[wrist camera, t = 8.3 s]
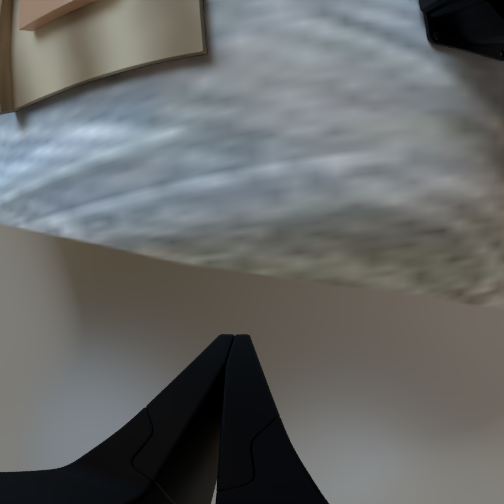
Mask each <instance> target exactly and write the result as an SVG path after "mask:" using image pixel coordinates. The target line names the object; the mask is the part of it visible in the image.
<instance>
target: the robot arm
mask: <svg viewBox="0 0 504 504" xmlns="http://www.w3.org/2000/svg"><path fill="white" fill-rule="evenodd" d="M419 4H420V9H421V11H422V12H423V13H424V19H425V25H426V32H427V37H428V40H429V41H430V42H431V43H433V44H436V45H441V46H446V47H450V48H455V49H459V50H463V51H467V52H471V53H475V54H479V55H482V56H486V57H489V58H493V59H496V60H499V61H504V0H419ZM433 33H434V34H436V36H437V40H436V39H435V38H434V37H433ZM500 51H501V53H502V56H501V54H500ZM146 407H147V408H143V409H142V410H141V411H140V412H139V413H138V414H137V415H136V416H135V417H134V418H132V419H131V420H130V421H129V422H128V423H127V424H126V425H124V426H123V427H122V428H121V429H120V430H118V431H117V432H115V433H114V434H113V435H112V436H110V437H109V438H108V439H106V440H105V441H103V442H102V443H101V444H99V445H98V446H96V447H95V448H94V449H92V450H91V451H89V452H88V453H87V454H85V455H83V456H82V457H81V458H79V459H78V460H76V461H75V462H73V463H71V464H69V465H67V466H64V467H61V468H57V469H51V470H39V471H22V472H0V504H211V501H212V497H213V493H214V489H215V485H216V481H217V493H216V504H329V503H328V502H327V500H326V499H325V497H324V496H323V495H322V493H321V492H320V490H319V489H318V487H317V485H316V484H315V482H314V481H313V479H312V478H311V476H310V474H309V473H308V471H307V470H306V468H305V467H304V465H303V463H302V462H301V460H300V458H299V457H298V455H297V453H296V451H295V449H294V448H293V446H292V444H291V442H290V439H289V437H288V435H287V433H286V430H285V428H284V425H283V423H282V420H281V418H280V416H279V413H278V410H277V408H276V405H275V402H274V400H273V397H272V395H271V392H270V389H269V386H268V384H267V381H266V378H265V376H264V373H263V370H262V367H261V365H260V362H259V359H258V357H257V354H256V351H255V348H254V346H253V343H252V340H251V337H250V335H248V334H237V335H235V336H234V335H233V334H221V335H219V336H218V337H217V338H216V339H215V340H214V341H213V342H212V343H211V344H210V345H209V346H208V347H207V348H206V349H205V350H204V351H203V352H202V353H201V354H200V355H199V356H198V357H197V358H196V359H195V360H194V361H193V362H191V363H190V364H189V365H188V366H187V367H186V368H185V369H184V370H183V371H182V372H181V373H180V374H179V375H178V376H177V377H176V378H175V379H174V380H173V381H172V382H171V383H170V384H169V385H168V386H167V387H166V388H165V389H164V390H162V391H161V393H159V394H158V395H157V396H156V397H155V398H154V399H153V400H152V401H151V402H150V403H149V404H148V405H147V406H146Z"/></svg>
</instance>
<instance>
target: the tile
mask: <svg viewBox="0 0 504 504" xmlns="http://www.w3.org/2000/svg"><path fill="white" fill-rule="evenodd" d="M94 1H97V0H21V2H20V15H19V30H24V31H34V30H36V29H38V28H40V27H41V26H43V25H45V24H47V23H49V22H51V21H53V20H55V19H57V18H59V17H61V16H63V15H65V14H67V13H69V12H71V11H74V10H76V9H78V8H80V7H83V6H85V5H87V4H90V3H92V2H94Z"/></svg>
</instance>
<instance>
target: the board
mask: <svg viewBox="0 0 504 504" xmlns="http://www.w3.org/2000/svg"><path fill="white" fill-rule="evenodd" d="M20 2H21V0H0V114H6V113H11V112H15V111H18V110H20V109H22V108H24V107H26V106H29V105H31V104H33V103H35V102H38V101H40V100H42V99H45V98H47V97H50V96H52V95H55V94H57V93H60V92H63V91H65V90H68V89H71V88H73V87H76V86H79V85H82V84H85V83H88V82H91V81H94V80H97V79H100V78H103V77H107V76H110V75H113V74H117V73H120V72H124V71H128V70H131V69H135V68H139V67H143V66H147V65H152V64H156V63H160V62H165V61H170V60H175V59H180V58H185V57H191V56H197V55H203V54H207V47H206V35H205V23H204V10H203V0H97V1H94V2H92V3H90V4H87V5H85V6H83V7H80V8H78V9H76V10H74V11H71V12H69V13H67V14H65V15H63V16H61V17H59V18H57V19H55V20H53V21H51V22H49V23H47V24H45V25H43V26H41V27H40V28H38V29H36V30H34V31H24V30H19V15H20Z"/></svg>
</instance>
